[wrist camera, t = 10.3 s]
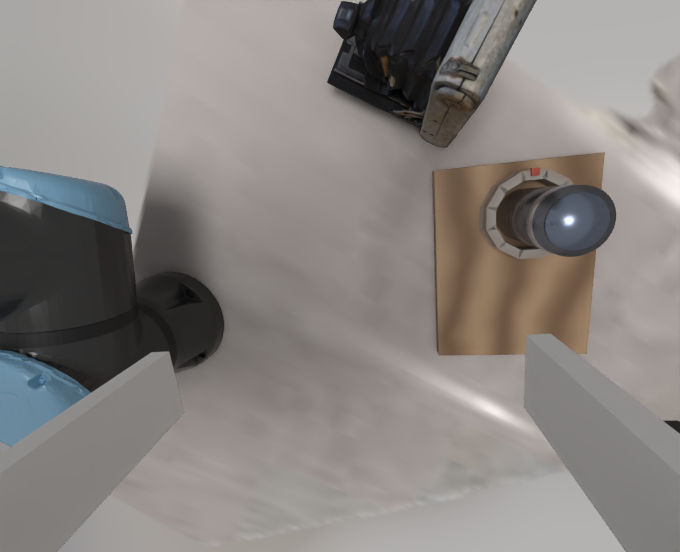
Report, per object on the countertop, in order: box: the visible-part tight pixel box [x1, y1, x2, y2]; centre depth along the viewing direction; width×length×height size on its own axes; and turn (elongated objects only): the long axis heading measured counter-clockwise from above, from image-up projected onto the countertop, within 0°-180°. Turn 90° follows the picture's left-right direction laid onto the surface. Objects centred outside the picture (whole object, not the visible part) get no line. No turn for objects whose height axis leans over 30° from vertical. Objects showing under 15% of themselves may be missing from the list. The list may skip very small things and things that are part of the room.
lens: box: [496, 185, 616, 257], centre depth 32 cm, size 6×6×11 cm
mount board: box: [433, 152, 605, 355], centre depth 38 cm, size 18×24×4 cm
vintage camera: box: [327, 0, 537, 147], centre depth 28 cm, size 10×15×20 cm, turn 65°
